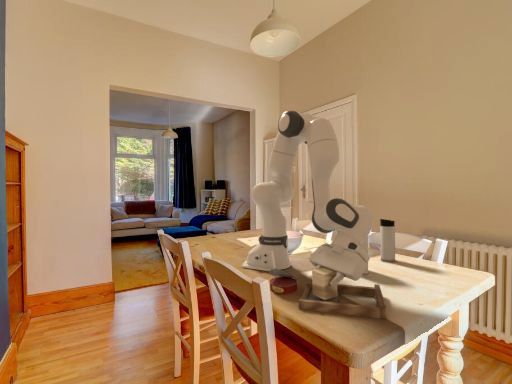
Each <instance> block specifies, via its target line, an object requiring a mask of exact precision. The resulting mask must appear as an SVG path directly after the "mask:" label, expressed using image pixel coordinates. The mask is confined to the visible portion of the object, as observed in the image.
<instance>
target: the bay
mask: <svg viewBox="0 0 512 384" xmlns="http://www.w3.org/2000/svg"><path fill="white" fill-rule="evenodd" d="M339 294H344V295H356V296H358V295H359V296H365V297H374V298H375V303H376V305H377V306H373V305H372V306H371V305H362V304H361V305H360V304H352V303H342V302H339ZM298 310H306V311H314V312H321V313H323V312H324V313H330V314H339V315H347V316H348V315H349V316H357V317H363V318H374V319H382V320H386V319H387V305H386V302H385V300H384V295H383V293H382V289H381V286H380V284H374V285H373V286H362V285H352V284H339V283H337V297H333V298H330V299H327V300H323V299H321V298H319V297H317V296H315V295H313V287H312V281H306V282H305V288H304V290H303V293H302V295H301V298H299V300H298Z"/></svg>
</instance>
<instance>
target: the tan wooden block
mask: <svg viewBox="0 0 512 384" xmlns="http://www.w3.org/2000/svg"><path fill="white" fill-rule="evenodd" d="M336 274H337V271H334V270H331V269H329V268H326V267H323V268H319V269H316V268H315V269H312V270H311V276H312V277H311V278H312V281H311V282H312V287H313V295H315V296H317V297H319V298H321V299H323V300H327V299H330V298H333V297H337V284H338V283H337V284H336V285H335V287H332V286H330V285H329V284H328V282H329V281H330V279H333V278H334V277H336V276H337V275H336Z"/></svg>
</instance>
